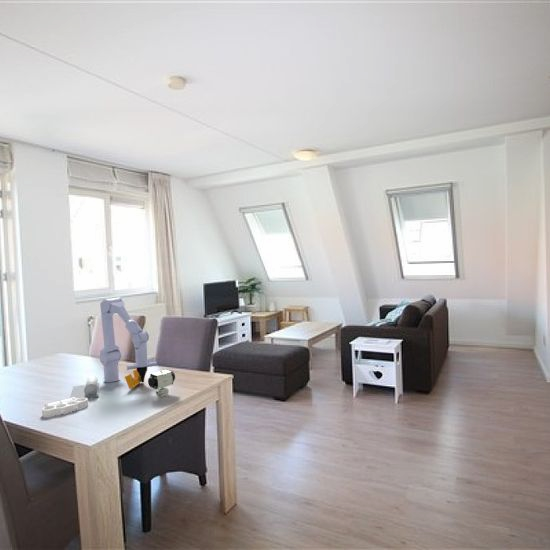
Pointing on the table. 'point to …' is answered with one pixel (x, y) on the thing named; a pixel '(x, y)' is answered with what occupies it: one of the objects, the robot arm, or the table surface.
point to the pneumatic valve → (161, 381)
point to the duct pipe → (86, 389)
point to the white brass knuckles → (64, 406)
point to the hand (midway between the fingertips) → (142, 381)
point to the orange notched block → (133, 379)
